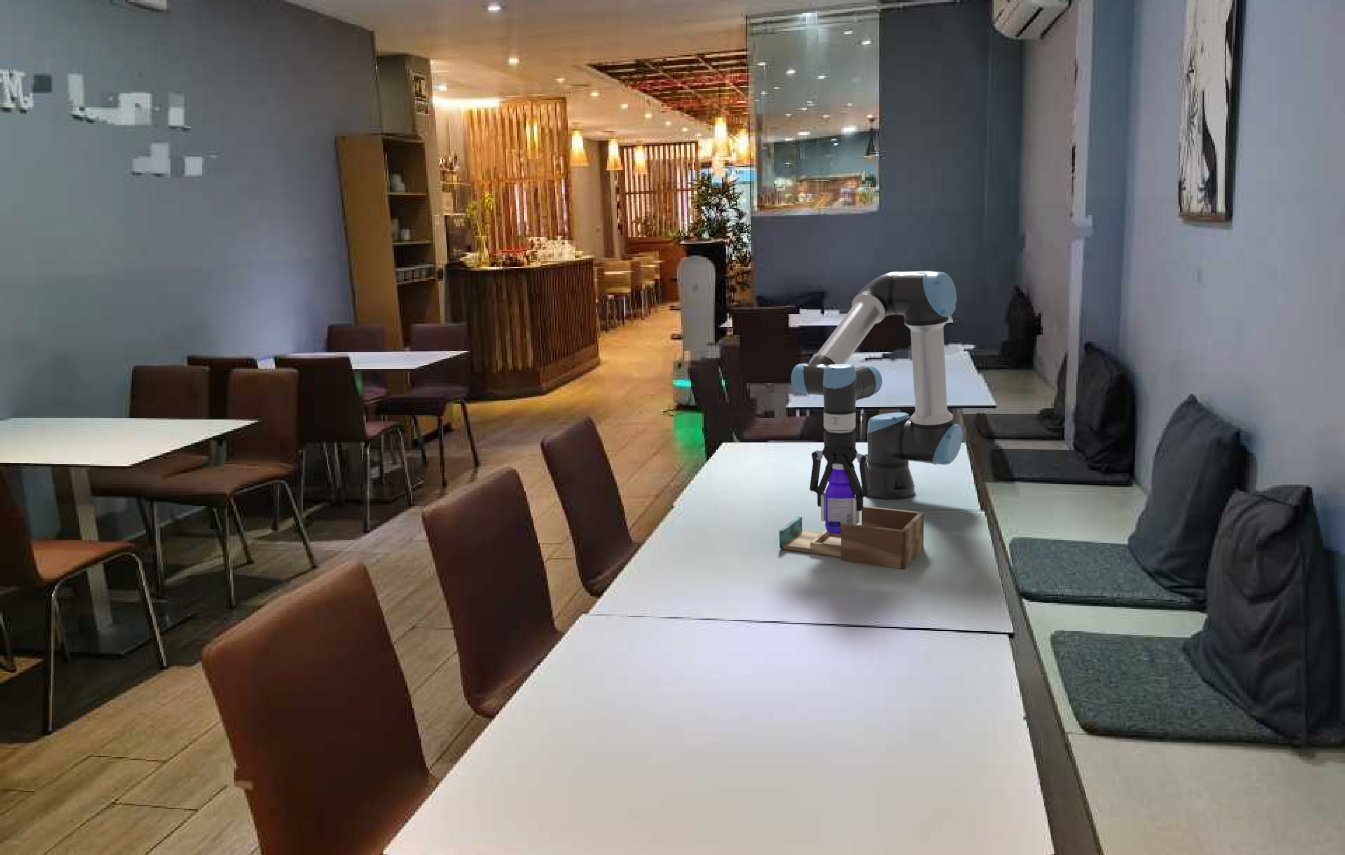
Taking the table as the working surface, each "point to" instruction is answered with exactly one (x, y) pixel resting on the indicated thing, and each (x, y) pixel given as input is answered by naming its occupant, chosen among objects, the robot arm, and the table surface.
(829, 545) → the tray
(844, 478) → the bottle
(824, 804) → the table surface
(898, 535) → the housing
